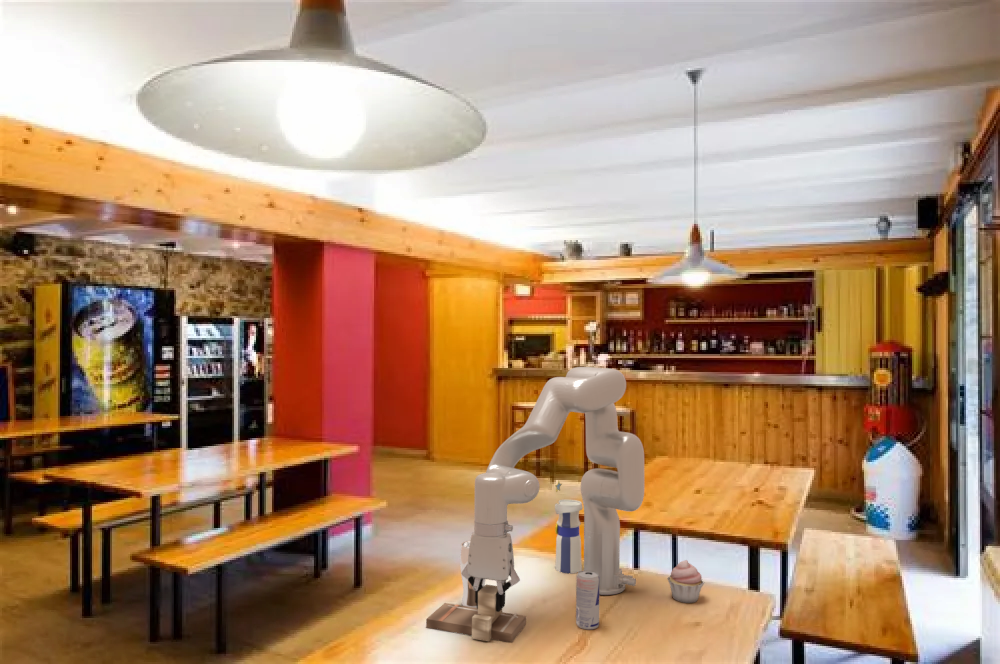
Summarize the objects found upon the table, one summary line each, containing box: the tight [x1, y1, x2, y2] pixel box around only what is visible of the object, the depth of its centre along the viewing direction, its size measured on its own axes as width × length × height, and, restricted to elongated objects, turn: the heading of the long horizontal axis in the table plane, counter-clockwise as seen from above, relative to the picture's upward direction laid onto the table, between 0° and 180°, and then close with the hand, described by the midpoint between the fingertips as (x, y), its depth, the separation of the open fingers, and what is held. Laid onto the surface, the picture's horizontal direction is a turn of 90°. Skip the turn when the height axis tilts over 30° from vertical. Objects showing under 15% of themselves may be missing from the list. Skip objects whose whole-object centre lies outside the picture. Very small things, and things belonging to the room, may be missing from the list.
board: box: [425, 602, 527, 643], centre depth 157 cm, size 21×10×2 cm, turn 69°
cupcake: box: [667, 559, 705, 604], centre depth 174 cm, size 9×9×10 cm
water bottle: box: [554, 480, 584, 575], centre depth 195 cm, size 8×9×25 cm
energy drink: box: [575, 569, 600, 631], centre depth 158 cm, size 5×5×12 cm
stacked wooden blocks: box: [471, 583, 503, 642], centre depth 154 cm, size 4×11×9 cm, turn 160°
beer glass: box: [459, 540, 486, 608], centre depth 170 cm, size 7×7×15 cm
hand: (490, 607), depth 155 cm, fingers closed on stacked wooden blocks, 4 cm apart
